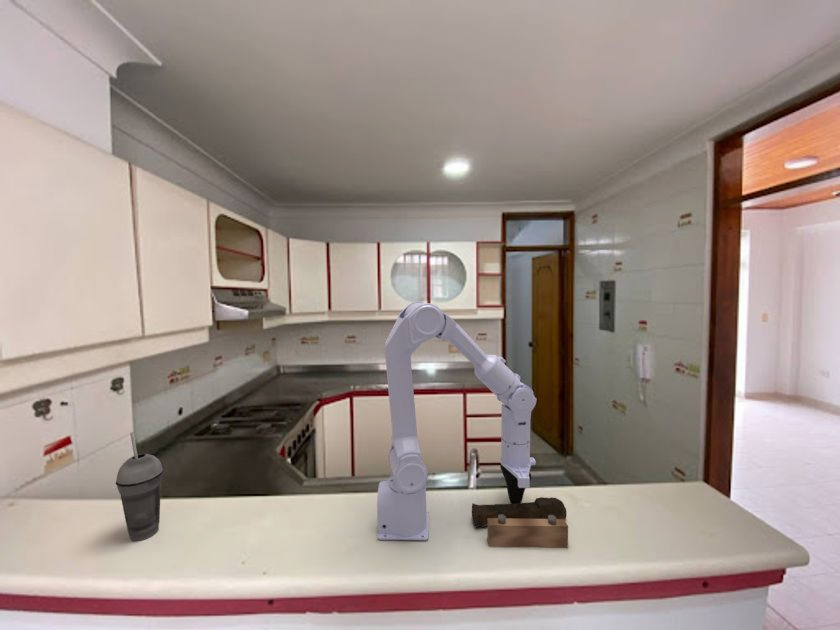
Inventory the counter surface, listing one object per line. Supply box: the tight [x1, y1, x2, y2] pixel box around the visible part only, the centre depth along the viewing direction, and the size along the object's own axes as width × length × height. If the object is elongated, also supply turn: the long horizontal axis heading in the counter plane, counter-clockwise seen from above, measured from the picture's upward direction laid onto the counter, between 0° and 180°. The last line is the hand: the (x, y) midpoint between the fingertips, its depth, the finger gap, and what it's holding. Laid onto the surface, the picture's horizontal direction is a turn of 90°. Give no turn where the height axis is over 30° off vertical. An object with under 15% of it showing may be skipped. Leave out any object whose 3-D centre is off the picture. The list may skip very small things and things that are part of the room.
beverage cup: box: [115, 432, 164, 542], centre depth 69 cm, size 7×7×20 cm
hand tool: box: [471, 496, 567, 528], centre depth 71 cm, size 19×4×5 cm, turn 91°
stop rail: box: [486, 514, 569, 549], centre depth 65 cm, size 14×2×5 cm, turn 88°
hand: (515, 502), depth 75 cm, fingers closed
